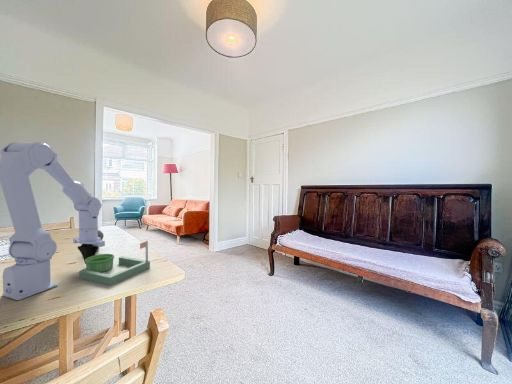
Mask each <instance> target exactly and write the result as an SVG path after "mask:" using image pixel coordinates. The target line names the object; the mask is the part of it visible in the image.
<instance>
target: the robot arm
mask: <svg viewBox="0 0 512 384" xmlns="http://www.w3.org/2000/svg"><path fill="white" fill-rule="evenodd" d="M0 156H1V158H0V185H1V188H2V192H3V196H4V198H5V199H4V200H5V202H6V203H5V204H6V205H7V209H8V212H9V215H10V219H11V222H12V226H13V230H14V233H13V234H12V235H11V236H10V237H9V238H8V239H9V246H8V255H9V256H10V257H11V258H13V259H14V264H13V265H10V266H7V267H5V268H4V269H3V272H2V290H3V291H2V292H3V293H1V296H3V297H6V298H9V299H12V300H16V301H20V300H24V299H25V298H28V297H31V296H33V295H36V294H39V293H41V292H44V291H47V290H50V289H53V288H55V287H57V286H59V284H58V283H55V282H52V280H51V279H52V278H51V276H52V275H51V260H52V259H53V256H54V255H55V254H56V252H57V247H58V245H57V242H56V241H55V240H54V239H53V238H52V236H51V233H49V232H48V230H46V229H44V228H43V226H42V223H41V219H40V215H39V212H38V208H37V204H36V201H35V197H34V192H33V189H32V185H31V182H30V181H31V180H30V175H31V174H32V173H34V172H35V171H36V170H37V169H40V170H44V171H45V172H46V173H47V174H49V176H51V177H52V178H53V179H54V180H55V181H56V182H57V183H58V184H60V185H61V187H62V193H63V194H64V195H66V197H68V199H69V200H71V202H72V203H73V208H74V210H76V211H78V234H79V235H78V237H74V238H73V244H80V245H78V246H77V249H78V251H79V253H80V254H81V255H82V259H83V261H84V264H85V265H86V263H85V259H86V258H88V257H91V256H94V255H96V254H97V252H98V251H97V249H98V248H99V249H100V248H102V247H105V246H106V244H105V242H106V241H105V240H103V239H102V240H101V239H100V237H98V230H99V229H98V227H99V224H98V223H99V222H98V221H99V220H98V218H99V215H100V210H101V208H102V205H103V204H102V203H101V201H100V200H99V198H97V197H94V196H93V195H92V193H91V192H89V191H88V189H87V188H86V187H85V184H84V183H82V182H80V181H74V179H73V178H72V177H71V175H70V174H69V173H68V172H67V170H66V169H65V167H64V166H63V165H62V164H61V162H60V161H59V159H58V154H57V153H56V152H55V151H54V150H53V148H52V147H51V146H50V145H49V144H47V143H46V142H41V141H38V142H10V143H8V144H7V145H5V146H4V147H3V148H1V149H0Z"/></svg>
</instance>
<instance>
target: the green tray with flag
mask: <svg viewBox="0 0 512 384" xmlns="http://www.w3.org/2000/svg"><path fill="white" fill-rule="evenodd" d="M144 248H145V259H140V258H133V257H128V256H120V257H118V264H119V265H123V266H130V267H128V268H125V269H123V270H120V271H118V272H116V273H114V274H107V273H104V272H94V271H89V270H87V269H81V270H79V272H78V275H79V279H81V280H86V281H90V282H93V283H98V284H101V285H102V284H103V285H106V286H112V285H114V284H117V283H118V282H122V281H123V280H126V279H128V278H130V277H132V276H135V275H137V274H139V273H141V272H143V271H145V270H148V269H149V267H150V268H151V266H150V265H151V261H150V260H149V241H148V240H145V241H142V242H140V243H139V249H140V250H141V249H144ZM147 268H148V269H147Z"/></svg>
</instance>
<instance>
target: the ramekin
mask: <svg viewBox="0 0 512 384" xmlns="http://www.w3.org/2000/svg"><path fill="white" fill-rule="evenodd" d="M114 259H115V254H112V253H100V254H95V255H94V256H91V257H88V258H86V259H85V262H84V264H85V263H86V264H85V268H86V269H85V270H89V271H94V272H99V273H104V272H106V271H109V270H111V269H112V268H113V267H114Z"/></svg>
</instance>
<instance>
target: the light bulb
mask: <svg viewBox="0 0 512 384" xmlns="http://www.w3.org/2000/svg"><path fill="white" fill-rule="evenodd" d="M104 236H105V235H104V233H103V231H101V230H99V229H98V237H100V239H101V240H103V239H104ZM99 251H100V247H99V248H98V249H97V251H96V252H99Z"/></svg>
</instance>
